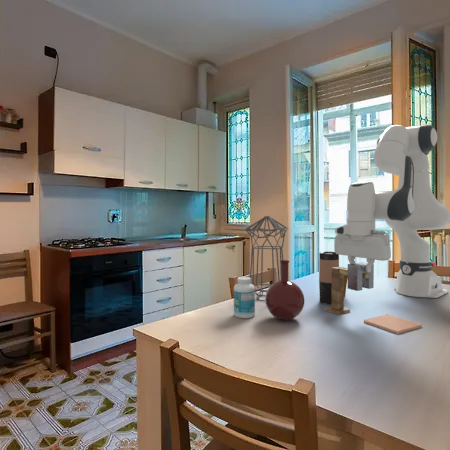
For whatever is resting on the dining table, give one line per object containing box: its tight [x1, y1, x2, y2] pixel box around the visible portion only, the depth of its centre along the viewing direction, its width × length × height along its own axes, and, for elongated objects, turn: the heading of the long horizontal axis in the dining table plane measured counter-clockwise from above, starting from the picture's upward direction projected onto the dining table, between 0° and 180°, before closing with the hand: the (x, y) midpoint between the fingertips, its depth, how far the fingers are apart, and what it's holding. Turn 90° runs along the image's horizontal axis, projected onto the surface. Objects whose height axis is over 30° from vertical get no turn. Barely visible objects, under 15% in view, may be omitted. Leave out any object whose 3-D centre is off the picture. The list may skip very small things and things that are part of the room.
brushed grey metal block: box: [347, 261, 375, 292], centre depth 113 cm, size 8×4×8 cm, turn 119°
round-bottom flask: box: [264, 259, 305, 321], centre depth 114 cm, size 13×13×20 cm
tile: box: [363, 314, 423, 335], centre depth 108 cm, size 12×12×1 cm
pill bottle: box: [233, 276, 256, 319], centre depth 118 cm, size 8×7×14 cm
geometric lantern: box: [244, 215, 289, 302], centre depth 141 cm, size 16×16×35 cm
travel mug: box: [318, 251, 340, 306], centre depth 134 cm, size 8×8×20 cm
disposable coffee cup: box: [340, 266, 348, 298], centre depth 143 cm, size 10×10×12 cm
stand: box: [325, 266, 369, 315], centre depth 118 cm, size 6×16×16 cm, turn 29°
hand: (360, 270), depth 113 cm, fingers closed on brushed grey metal block, 4 cm apart
